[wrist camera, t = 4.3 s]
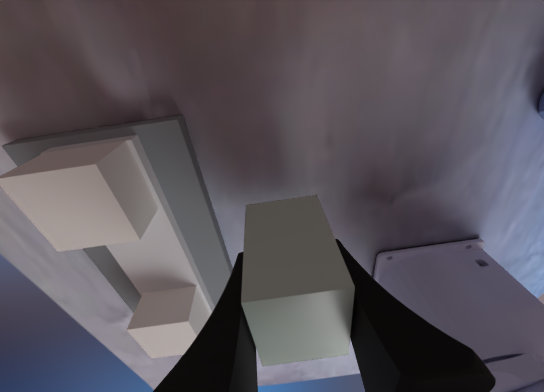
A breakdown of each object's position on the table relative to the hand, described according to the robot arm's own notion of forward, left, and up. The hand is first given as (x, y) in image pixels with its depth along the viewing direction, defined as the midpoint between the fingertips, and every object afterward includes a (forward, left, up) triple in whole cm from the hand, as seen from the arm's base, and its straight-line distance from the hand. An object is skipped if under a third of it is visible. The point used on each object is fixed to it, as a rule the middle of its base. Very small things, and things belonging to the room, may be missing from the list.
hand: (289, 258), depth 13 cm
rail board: (+10, +2, -6) cm, 12 cm away
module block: (0, 0, -2) cm, 2 cm away
